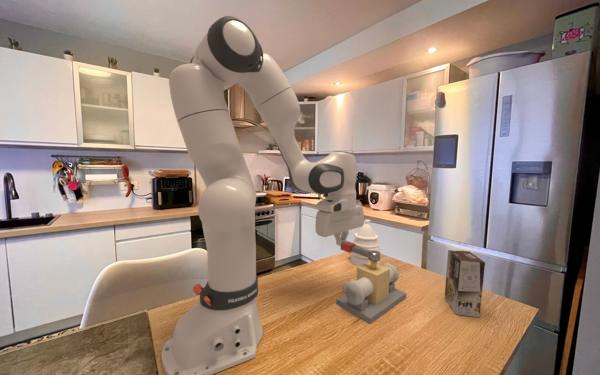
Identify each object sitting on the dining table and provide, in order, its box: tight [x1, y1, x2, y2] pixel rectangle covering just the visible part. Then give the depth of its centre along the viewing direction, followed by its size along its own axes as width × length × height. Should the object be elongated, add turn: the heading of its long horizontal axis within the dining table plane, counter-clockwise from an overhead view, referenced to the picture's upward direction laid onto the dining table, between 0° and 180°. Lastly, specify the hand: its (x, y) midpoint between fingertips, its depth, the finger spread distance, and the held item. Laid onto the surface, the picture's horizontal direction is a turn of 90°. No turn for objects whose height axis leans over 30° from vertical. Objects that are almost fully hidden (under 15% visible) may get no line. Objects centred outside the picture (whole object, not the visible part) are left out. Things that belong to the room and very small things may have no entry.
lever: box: [339, 240, 380, 261], centre depth 78 cm, size 14×4×2 cm, turn 41°
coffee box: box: [444, 249, 486, 318], centre depth 72 cm, size 9×6×16 cm
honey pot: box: [349, 219, 382, 267], centre depth 105 cm, size 13×13×18 cm
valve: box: [335, 261, 407, 325], centre depth 75 cm, size 20×12×13 cm, turn 130°
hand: (341, 244), depth 79 cm, fingers closed
